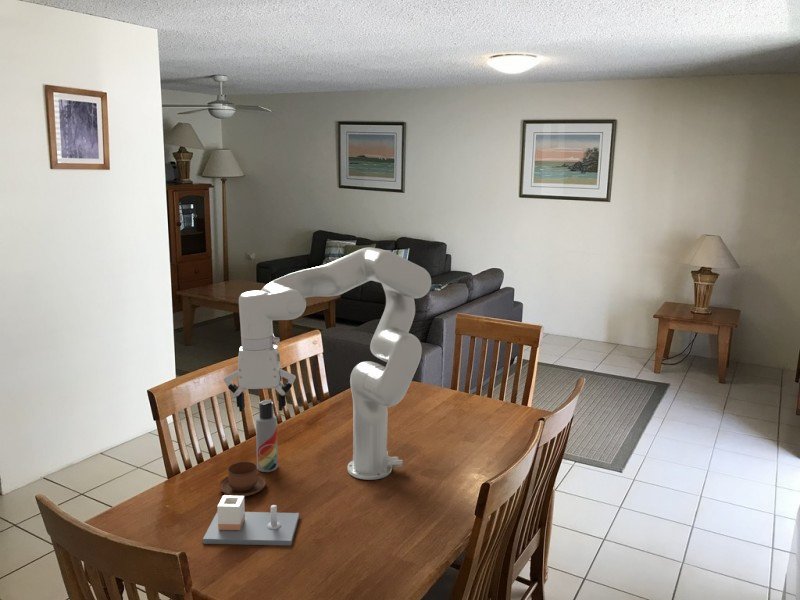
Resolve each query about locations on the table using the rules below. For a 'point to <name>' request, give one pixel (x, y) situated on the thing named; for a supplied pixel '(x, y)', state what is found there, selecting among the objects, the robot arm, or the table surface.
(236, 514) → the sleeve
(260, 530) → the pin board
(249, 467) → the cup and saucer
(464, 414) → the table surface
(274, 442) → the lotion bottle
